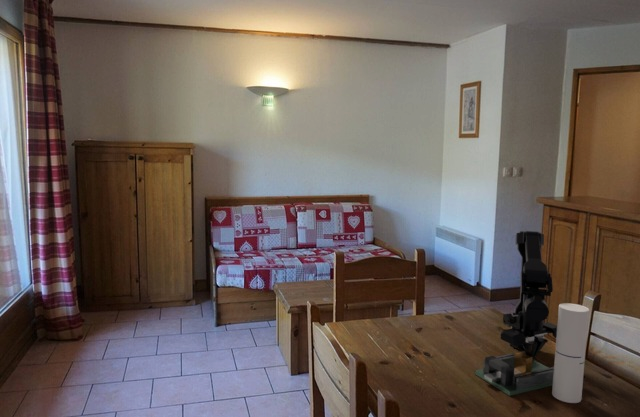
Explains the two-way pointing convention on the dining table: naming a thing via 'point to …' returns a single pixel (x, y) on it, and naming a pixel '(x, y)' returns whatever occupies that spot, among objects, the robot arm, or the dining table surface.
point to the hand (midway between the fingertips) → (530, 361)
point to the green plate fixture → (517, 383)
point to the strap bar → (520, 363)
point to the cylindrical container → (570, 352)
